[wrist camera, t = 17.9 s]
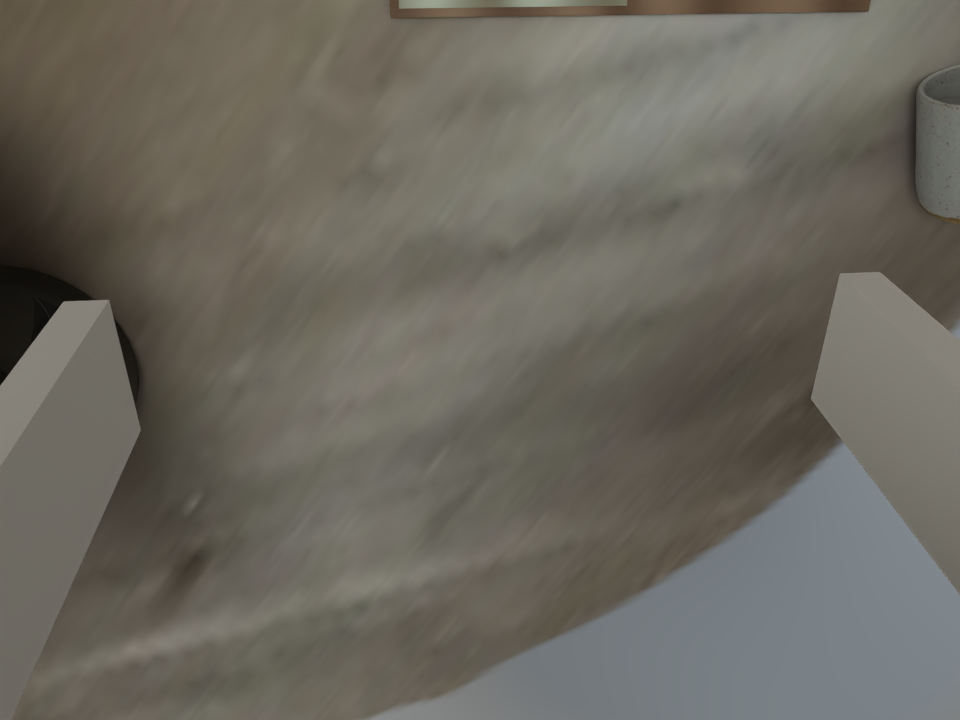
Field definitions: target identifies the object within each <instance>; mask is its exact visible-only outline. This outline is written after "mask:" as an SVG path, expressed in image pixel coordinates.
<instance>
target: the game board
mask: <svg viewBox="0 0 960 720" xmlns="http://www.w3.org/2000/svg"><path fill="white" fill-rule="evenodd" d="M870 1H871V0H390V15H391V18H419V17H492V16H566V15H639V14H713V13H786V12H859V11H868V10H869V5H870Z"/></svg>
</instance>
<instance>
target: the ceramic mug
mask: <svg viewBox="0 0 960 720" xmlns="http://www.w3.org/2000/svg"><path fill="white" fill-rule="evenodd" d="M915 182H916V191H917V195H918V200H919V203H920V205H921V207H922V208H923V209H924V210H925V211H926V212H927V213H928V214H930V215H932V216H933V217H935V218H937V219H940V220H942V221H945V222H949V223H953V224H958V225H960V64H959V65H956V66H952V67H949V68H946V69H943V70H940V71H938V72H935V73H933V74H931V75H929V76H928V77H927V78H925V79H924V80H922V81H921V83H920V84H919V86H918V89H917V94H916V166H915Z"/></svg>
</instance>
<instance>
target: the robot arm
mask: <svg viewBox="0 0 960 720" xmlns="http://www.w3.org/2000/svg"><path fill="white" fill-rule="evenodd" d="M138 388H139V376H138V368H137V363H136V360H135V356H134V354H133V351H132V348H131V346H130V344H129V342H128V340H127V338H126V337H125V335H124V333H123V332H122V330H121V329H120V328H119V326H118V325H117V324H116V322H115V321H114V318H113V314H112V310H111V305H110V301H109V300H92V299H91V298H89V297H88V296H86V295H85V294H84V293H82V292H81V291H79V290H77V289H76V288H74V287H72V286H70V285H68V284H66V283H64V282H62V281H60V280H58V279H56V278H53V277H50V276H48V275H45V274H42V273H39V272H35V271H31V270H27V269H22V268H15V267H6V266H0V720H11V719H12V717H13V715H14V712H15V710H16V708H17V706H18V704H19V701H20V699H21V697H22V695H23V692H24V690H25V688H26V686H27V683H28V681H29V679H30V677H31V675H32V672H33V670H34V668H35V666H36V663H37V661H38V659H39V657H40V654H41V652H42V650H43V648H44V646H45V643H46V641H47V639H48V637H49V634H50V632H51V630H52V628H53V625H54V623H55V621H56V619H57V616H58V614H59V612H60V610H61V608H62V605H63V603H64V601H65V599H66V596H67V594H68V592H69V590H70V587H71V585H72V583H73V581H74V579H75V576H76V574H77V572H78V570H79V567H80V565H81V563H82V561H83V558H84V556H85V554H86V552H87V550H88V547H89V545H90V543H91V541H92V538H93V536H94V534H95V532H96V529H97V527H98V525H99V523H100V521H101V518H102V516H103V514H104V512H105V509H106V507H107V505H108V503H109V500H110V498H111V496H112V494H113V492H114V489H115V487H116V485H117V483H118V480H119V478H120V476H121V474H122V471H123V469H124V467H125V465H126V462H127V460H128V458H129V456H130V454H131V451H132V449H133V447H134V445H135V442H136V440H137V438H138V436H139V433H140V431H141V428H140V424H139V420H138V416H137V412H136V408H135V403H136V400H137V395H138ZM811 400H812V401H813V402H814V404H815V405H816V406H817V408H818V409H819V410H820V412H821V413H822V414H823V416H824V417H825V418H826V419H827V421H828V422H829V423H830V425H831V426H832V427H833V429H834V430H835V431H836V433H837V434H838V435H839V437H840V438H841V439H842V440H843V442H844V443H845V444H846V446H847V447H848V448H849V450H850V451H851V452H852V454H853V455H854V456H855V458H856V459H857V460H858V461H859V463H860V464H861V465H862V466H863V468H864V469H865V470H866V472H867V473H868V474H869V476H870V477H871V478H872V480H873V481H874V482H875V484H876V485H877V486H878V488H879V489H880V490H881V492H882V493H883V494H884V496H885V497H886V498H887V499H888V501H889V502H890V503H891V505H892V506H893V507H894V509H895V510H896V511H897V513H898V514H899V515H900V516H901V518H902V519H903V520H904V522H905V523H906V524H907V526H908V527H909V528H910V530H911V531H912V532H913V534H914V535H915V536H916V537H917V539H918V540H919V541H920V543H921V544H922V545H923V546H924V548H925V549H926V551H927V552H928V553H929V555H930V556H931V557H932V559H933V560H934V561H935V562H936V564H937V565H938V566H939V568H940V569H941V570H942V572H943V573H944V574H945V576H946V577H947V578H948V580H949V581H950V582H951V583H952V585H953V586H954V587H955V588H956V590H957V591H958V593H959V594H960V340H958V339H957V338H956V337H955V336H954V335H953V334H951V333H950V332H949V331H948V330H947V329H946V328H944V327H943V326H942V325H941V324H940V323H939V322H937V321H936V320H935V319H934V318H933V317H932V316H930V315H929V314H928V313H927V312H926V311H925V310H924V309H922V308H921V307H920V306H919V305H918V304H917V303H915V302H914V301H913V300H912V299H911V298H910V297H908V296H907V295H906V294H905V293H904V292H903V291H901V290H900V289H899V288H898V287H897V286H896V285H894V284H893V283H892V282H891V281H890V280H889V279H887V278H886V277H885V276H884V275H883V274H882V273H881V272H866V273H840V275H839V280H838V284H837V288H836V293H835V297H834V301H833V306H832V310H831V314H830V318H829V323H828V327H827V331H826V336H825V340H824V344H823V349H822V353H821V357H820V361H819V366H818V370H817V374H816V379H815V383H814V387H813V392H812V396H811Z"/></svg>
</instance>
